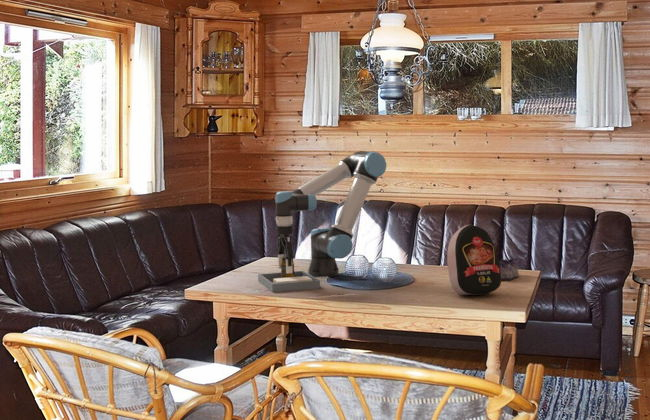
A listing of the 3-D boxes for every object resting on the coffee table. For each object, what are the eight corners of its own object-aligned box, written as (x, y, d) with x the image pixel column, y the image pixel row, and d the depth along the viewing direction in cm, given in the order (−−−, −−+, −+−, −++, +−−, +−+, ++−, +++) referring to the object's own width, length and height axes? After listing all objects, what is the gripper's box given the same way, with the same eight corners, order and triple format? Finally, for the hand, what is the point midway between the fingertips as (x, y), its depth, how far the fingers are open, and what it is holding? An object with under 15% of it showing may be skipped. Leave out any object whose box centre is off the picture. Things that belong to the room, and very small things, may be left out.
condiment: (298, 283, 406) (297, 257, 404) (281, 285, 401) (281, 259, 400) (290, 280, 412) (289, 255, 411) (274, 282, 408) (273, 257, 406)
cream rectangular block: (307, 284, 402) (306, 276, 401) (312, 287, 394) (312, 279, 394) (273, 287, 397) (273, 278, 396) (277, 290, 389) (277, 281, 389)
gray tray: (303, 280, 418) (303, 270, 417) (320, 290, 393) (319, 280, 393) (258, 283, 411) (258, 274, 411) (272, 294, 387) (272, 284, 386)
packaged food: (463, 301, 367) (464, 230, 364) (439, 292, 385) (439, 224, 382) (507, 296, 376) (508, 226, 372) (481, 288, 394) (482, 221, 390)
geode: (499, 273, 429) (502, 253, 427) (522, 278, 423) (525, 258, 422) (485, 279, 411) (489, 258, 409) (509, 284, 405) (513, 263, 404)
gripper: (269, 222, 414) (270, 266, 417) (283, 228, 391) (284, 275, 393) (284, 221, 417) (285, 265, 419) (299, 227, 393) (300, 274, 396)
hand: (285, 270), depth 406 cm, fingers open, 13 cm apart
